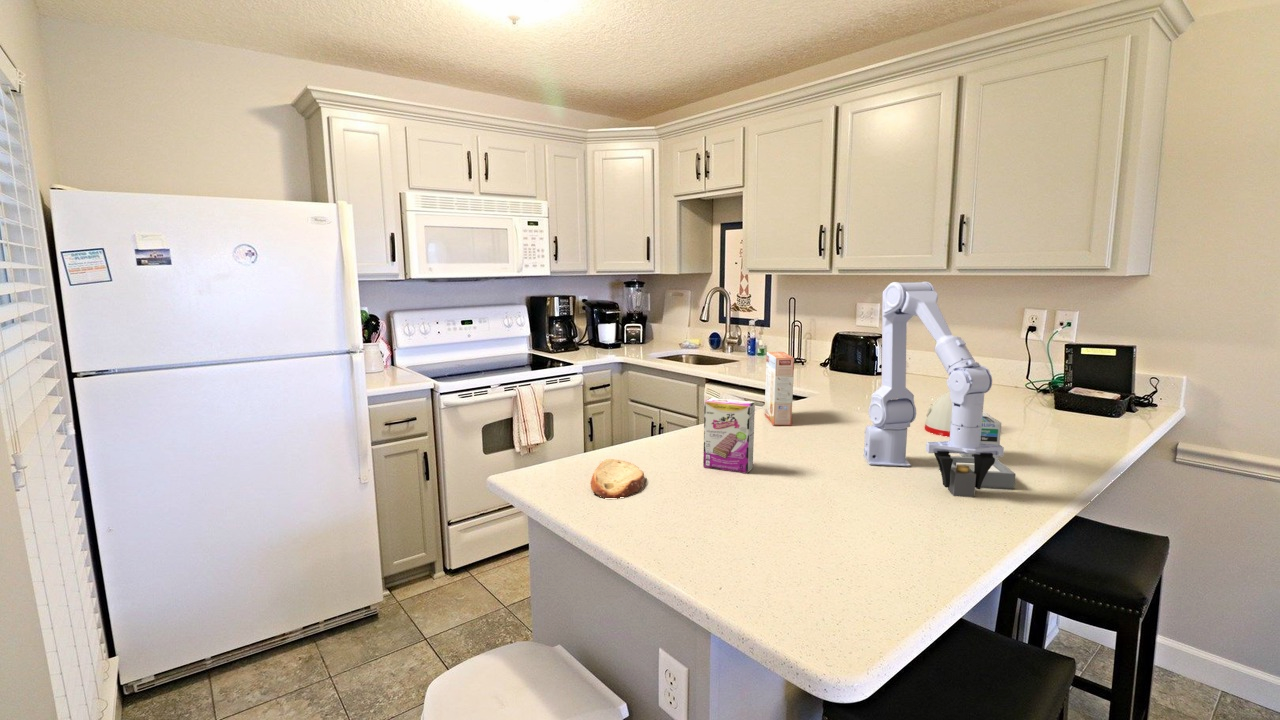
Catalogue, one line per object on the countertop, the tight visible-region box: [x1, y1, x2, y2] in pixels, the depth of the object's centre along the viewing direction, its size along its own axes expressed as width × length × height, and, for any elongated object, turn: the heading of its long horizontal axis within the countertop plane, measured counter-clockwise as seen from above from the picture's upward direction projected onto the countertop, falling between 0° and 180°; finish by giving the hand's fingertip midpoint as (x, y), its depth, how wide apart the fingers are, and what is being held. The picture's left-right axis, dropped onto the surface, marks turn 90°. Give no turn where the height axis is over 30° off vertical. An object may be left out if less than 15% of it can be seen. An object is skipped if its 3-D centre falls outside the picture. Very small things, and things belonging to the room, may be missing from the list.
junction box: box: [938, 455, 1016, 490], centre depth 138 cm, size 12×11×4 cm
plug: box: [947, 464, 976, 498], centre depth 130 cm, size 4×4×6 cm
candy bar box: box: [702, 397, 756, 474], centre depth 146 cm, size 11×5×16 cm, turn 65°
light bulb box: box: [959, 412, 1002, 461], centre depth 153 cm, size 11×7×11 cm, turn 169°
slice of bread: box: [590, 458, 645, 499], centre depth 139 cm, size 18×18×4 cm
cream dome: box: [924, 391, 952, 438], centre depth 178 cm, size 14×14×15 cm
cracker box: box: [764, 351, 795, 427], centre depth 191 cm, size 14×6×21 cm, turn 179°
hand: (961, 486), depth 130 cm, fingers open, 5 cm apart
